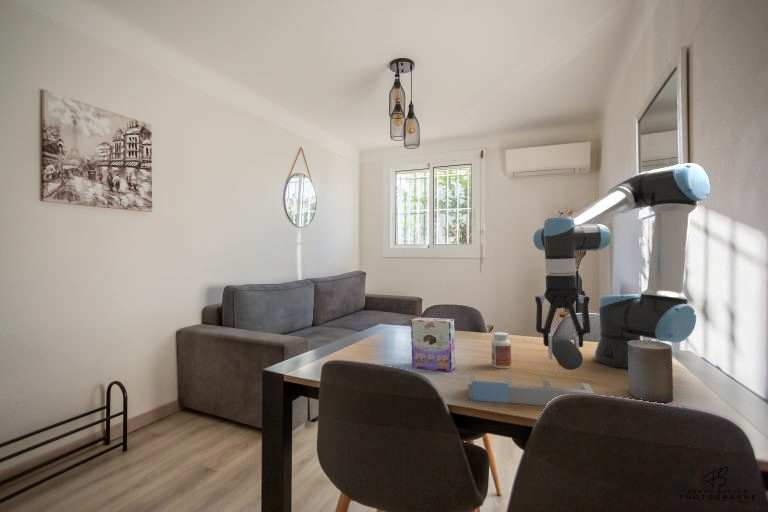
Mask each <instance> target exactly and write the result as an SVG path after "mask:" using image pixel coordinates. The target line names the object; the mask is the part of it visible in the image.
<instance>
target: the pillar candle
mask: <svg viewBox="0 0 768 512" xmlns="http://www.w3.org/2000/svg"><path fill="white" fill-rule="evenodd" d="M672 347H673V346H672V345H671V344H668V343H665V342H664V341H659V340H658V341H656V340H651V338H649V340H648V339H647V340H645V339H640V340H634V341H633V340H632V341H629V342H628V368H627V370H628V375H627V376H628V393H629V394H630V395H632V397H634V396H635V397H634V398H636V397H637V398H636V399H639V400H642V401H646V400H647V401H646V402H651V401H655V403H669V402H673V401H674V382H673V381H674V379H673V371H674V370H673V368H674V367H673V348H672ZM640 398H642V399H640Z"/></svg>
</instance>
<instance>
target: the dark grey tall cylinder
mask: <svg viewBox="0 0 768 512" xmlns="http://www.w3.org/2000/svg"><path fill="white" fill-rule="evenodd" d="M552 356H553V357H554V358H555V360H556V361H557V363H558V365H559V366H560V367H562V368H563V369H564V370H567V371H568V370H569V371H572V370H576V369H578V368H579V367H581V365H582V364H583V354H582V352H581V351H580V349H579V350H578V349H577V347H576V346H575V345H574V342H573V341H571V339H570V338H569V337H567V336H565V335H562V334H560V335H559V334H558V335H555V336H553V337H552Z"/></svg>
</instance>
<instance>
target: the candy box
mask: <svg viewBox="0 0 768 512" xmlns="http://www.w3.org/2000/svg"><path fill="white" fill-rule="evenodd" d="M410 334H411V335H410V336H411V338H410V340H411V365H412V366H411V368H413V369H414V368H415V369H422V370H424V369H425V370H431V371H432V370H433V371H443V372H452V371H453V370H454V369H455V368H456V341H455V339H456V338H455V337H456V336H455V335H456V334H455V319H454V318H438V317H421V316H418V317H414V318H412V319H411V320H410Z"/></svg>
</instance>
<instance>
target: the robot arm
mask: <svg viewBox="0 0 768 512" xmlns="http://www.w3.org/2000/svg"><path fill="white" fill-rule="evenodd" d="M710 188H711V186H710V180H709V177H708V175H707V173H706V172H705V170H704V169H703V167H701V166H700V165H699V164H696V163H691V162H689V163H688V162H687V163H682V164H680V163H679V164H675V165H671V166H668V167H662V168H657V169H652V170H647V171H643V172H640V173H638V174H635V175H633V176H631V177H629V178H627V179H625V180H623V181H621V182H620V183H619V184H616V185H614V186H613V187H611V188H609V190H608V191H607V193H606V194H605V195H604V196H602V197H600V198H599V199H597V200H595V201H593V202H592V203H590V204H588V205H586V206H584V207H582V208H581V209H579V210H578V211H576V212H574V213H572V214H570V215H568V216H560V217H559V216H558V217H550V218H547V219H546V220H545V221H544V223H543V227H541V228H538V229H537V230H536V231H535V232H534V234H533V237H532V241H533V245H534V246H535V248H536V249H537V250H539V251H542V252H544V255H545V256H544V259H545V260H544V261H545V263H544V264H545V273H546V276H545V292H544V294H542V295H536V296H534V299H535V303H536V316H535V319H536V320H535V330H536V332H537V333H540V334H542V337H543V338H542V339H543V340H542V341H543V346H544V347H547V357H548V359H549V360H553V353H552V338H553V337H552V336H553V335H552V333H550V331H551V328H552V324H553V320H554V318H555V314H556V312H557V310H559V309H566V310H567V312H568V314H569V316H570V319H571V321H572V324H573V327H574V330H575V332H576V333H573V344H574V345H575V346H576V347H577V349H578V350H579V351H580V348H583V346H584V335H586V334H590V333H591V325H590V324H591V323H590V314H589V303H590V300H591V299H590V297H589V296H588V295H581V294H579V292H578V291H577V276H576V274H575V273H576V271H577V269H576V267H577V266H576V252H587V251H589V252H590V251H591V252H592V251H593V252H597V251H601V250H604V249H606V248H607V247H608V246H609V245H610V243H611V240H612V234H611V231H610V229H609V227H607V226H606V225H605V224H604V223H606V222H607V221H610V220H611V219H613V218H615V217H616V216H618V215H620V214H626V213H629V212H631V211H633V210H635V209H639V208H647V207H650V208H649V209H650V210H651V211H652V212H653V213H654V214H655V216H654V225H653V226H654V227H653V234H652V242H651V244H652V245H651V251H650V252H651V253H650V260H649V261H650V262H649V270H648V277H647V278H648V279H647V280H648V281H647V288H646V289H645V290H644V291H642V292H641V293H640V294H638V293H628V294H626V293H625V294H609V295H603V296H601V298H600V300H599V329H600V330H599V331H600V335H599V340H598V343H597V346H596V348H595V352H594V360H595V361H596V362H597V363H600V364H602V365H606V366H610V367H615V368H622V369H628V342H629V341H632V340H633V341H634V340H641V337H643V338H649V339H654V340H658V341H659V342H670V343H681V342H683V341H685V340H686V339H688V337H690V336H691V334H693V332H694V330H695V326H696V325H697V324H696V322H697V314H696V313H695V308H693V307H692V306H691V305H689V304H688V298H687V297H686V296H685V294H683V286H684V275H685V266H686V256H687V250H688V249H687V247H688V236H689V229H690V219H691V215H692V213H694V212H695V211H697V210H698V203H699V202H702V201H703V200H706V199H707V197H708V196H709V195H710V194H709V193H710V190H711V189H710ZM545 300H546V301H547V302H548V303H549V304H550V305H549V309H548V313H547V315H546V319H545V322H544V326H543V324H542V323H543V304H544V303H545ZM577 300H578V302H579V303H580V308H581V309H580V310H581V318H582V319H581V321H582V326H581V324H580V321H579V318H578V316H577V313H576V312H575V311H576V310H575V307H574V304H575V302H577ZM542 326H543V327H542ZM582 327H583V328H582Z"/></svg>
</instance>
